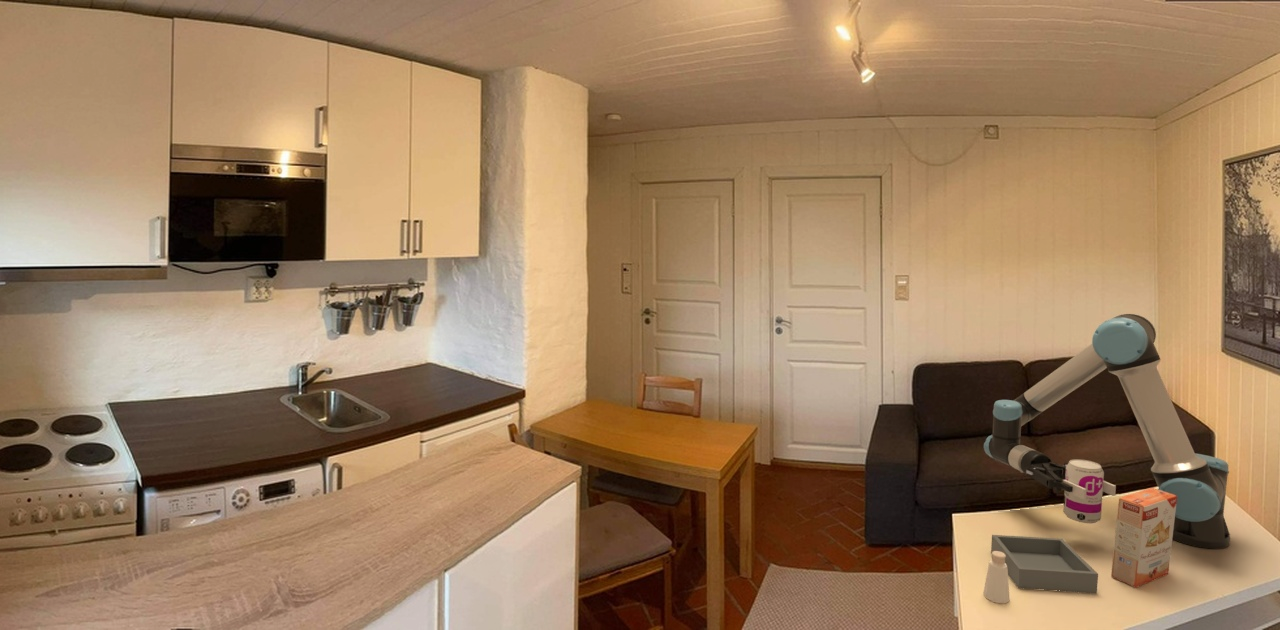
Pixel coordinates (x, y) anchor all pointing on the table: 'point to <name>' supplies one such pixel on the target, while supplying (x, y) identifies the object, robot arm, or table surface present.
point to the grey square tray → (1045, 564)
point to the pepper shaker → (997, 579)
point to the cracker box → (1143, 536)
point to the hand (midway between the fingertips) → (1099, 492)
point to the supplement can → (1092, 480)
